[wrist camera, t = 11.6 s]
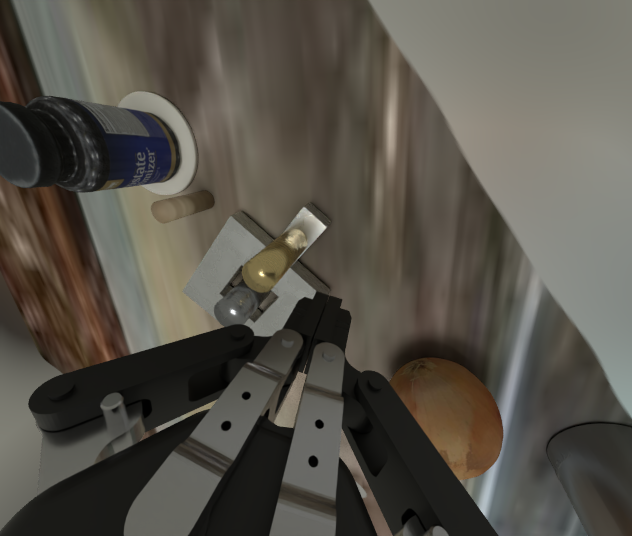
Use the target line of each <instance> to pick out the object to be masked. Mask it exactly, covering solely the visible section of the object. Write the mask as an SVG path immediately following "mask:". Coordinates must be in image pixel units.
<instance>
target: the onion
mask: <svg viewBox="0 0 632 536" xmlns="http://www.w3.org/2000/svg"><path fill="white" fill-rule="evenodd" d="M389 383H390V385H391V386H392V387H393V389H394V390H395V392H396V393H397V394H398V396H399V397H400V399H401V400H402V401H403V403H404V404H405V406H406V407H407V408H408V410H409V411H410V413H411V414H412V415H413V417H414V418H415V420H416V421H417V422H418V424H419V425H420V427H421V428H422V429H423V431H424V432H425V434H426V435H427V436H428V438H429V439H430V441H431V442H432V443H433V445H434V446H435V448H436V449H437V450H438V452H439V453H440V455H441V456H442V457H443V459H444V460H445V462H446V463H447V464H448V466H449V467H450V469H451V470H452V471H453V473H454V474H455V476H456V477H457V478H458V480H464V479H469V478H473V477H476V476H479V475H481V474H483V473H484V472H485V471H487V470H488V469H489V468H490V467H491V466H492V465H493V464H494V463H495V462H496V460H497V459H498V457H499V454H500V451H501V447H502V441H503V426H502V420H501V415H500V412H499V409H498V406H497V404H496V402H495V400H494V398H493V396H492V395H491V393H490V392H489V391H488V389H487V388H486V387H485V386H484V385H483V383H482V382H481V381H480V380H479V379H478V378H477V377H476V376H475V375H473V374H472V373H471V372H470V371H469V370H467V369H466V368H465V367H463V366H461V365H459V364H457V363H455V362H452V361H449V360H445V359H440V358H420V359H416V360H413V361H411V362H409V363H407V364H405V365H404V366H403V367H401V368H400V369H399V370H398V371H397V372H396V373H395V374H394V376H393V377H392V379H391V380H390V382H389Z"/></svg>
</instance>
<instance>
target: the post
mask: <svg viewBox="0 0 632 536" xmlns="http://www.w3.org/2000/svg"><path fill="white" fill-rule="evenodd" d="M270 292H271V290H270V291H268V292H264V293H261V292H257V291H254V290H252V289H251V288H250V287H249V286H248V285H247V284H246V283H245V281H244V279H243V280H242V281H241V282H240V283H239V284H238V285H236V286H235V287H234V288H233V289H232V290H231V291H230V292H229V293H227V294H226V295H225V296H224V297H223V298H222V299H221V300H220V301H219V302H217V303H216V305H215V306H214V314H215V317H216V319H217V320H218V321H219V322H220V323H221V324H222V325H223V326H225V327H227V326H230V325H234V324H242V325H244V324H245V323H246V321H247V320H248V319H249V318H250V316H251V315H252V314H253V313H254V312H255V310H256V309H257V308H258V307H259V306H260V304H261V303H262V302H263V301H264V300H265V298H266V297H267V296H268V295H269V293H270Z"/></svg>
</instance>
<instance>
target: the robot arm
mask: <svg viewBox="0 0 632 536" xmlns="http://www.w3.org/2000/svg"><path fill="white" fill-rule="evenodd" d="M328 297H329V295H327V294H324V293H321V292H318V291H316V293H315V295H314V297H313V299H310V298H307V297H303V298H302V299H300V300H298V302H297V304H296V305H295V307H294V309H293V311H292V312H291V314H290V316H289V318H288V319H287V321H286V323H285V325H284V326H283V328H282V329H281V330H278V331H276V332H275V333H274V334H273V336H254V332H253V330H252V329H251V328H250V327H248V326H246V325H242V324H234V325H230V326H227V327H223V328H220V329H217V330H213V331H210V332H206V333H203V334H199V335H196V336H193V337H189V338H186V339H182V340H179V341H175V342H172V343H169V344H165V345H162V346H158V347H155V348H151V349H148V350H145V351H141V352H138V353H134V354H131V355H127V356H124V357H121V358H117V359H114V360H110V361H107V362H103V363H100V364H97V365H93V366H90V367H86V368H83V369H79V370H76V371H73V372H69V373H66V374H62V375H59V376H57V377H54V378H52V379H50V380H48V381H47V382H45V383H44V384H42V385H41V386H40V387H38V388H37V389H36V390H35V391H34V393H33V394H32V395H31V397H30V399H29V403H28V405H29V408H30V410H31V412H32V414H33V416H34V418H35V420H36V426H37V428H38V430H39V432H40V433H41V435H42V447H41V458H40V469H39V480H38V491H37V497H35V498H34V499H33V500H31V501H30V502H29V503H28V504H26V505H25V506H24V507H23V508H22V509H21V510H20V511H19V512H17V513H16V514H15V515H14V517H13V518H12V519H11V520H10V521H9V522H8V523H7V524H6V525H5V526H4V527H3V528H2V530H1V531H0V536H377V533H376V531H375V528H374V526H373V524H372V521H371V519H370V516H369V514H368V511H367V509H366V507H365V504H364V502H363V499H362V497H361V494H360V492H359V490H358V487H357V485H356V482H355V480H354V478H353V476H352V474H351V472H350V470H349V469H348V467H347V466H346V464H345V463H344V462H343V461H342V459H341V458H340V457H339V452H340V440H341V428H342V429H343V431H344V433H345V436H346V438H347V440H348V442H349V444H350V446H351V448H352V450H353V452H354V455H355V457H356V459H357V461H358V463H359V465H360V467H361V469H362V471H363V473H364V476H365V478H366V480H367V482H368V484H369V486H370V488H371V490H372V492H373V495H374V497H375V499H376V501H377V503H378V505H379V507H380V509H381V511H382V513H383V516H384V518H385V520H386V522H387V524H388V526H389V528H390V530H391V532H392V535H393V536H498V534H497V533H496V532H495V530H494V529H493V527H492V526H491V525H490V523H489V522H488V520H487V519H486V518H485V516H484V515H483V513H482V512H481V511H480V509H479V508H478V506H477V505H476V504H475V502H474V501H473V499H472V498H471V497H470V495H469V494H468V492H467V491H466V490H465V488H464V487H463V485H462V484H461V483H460V481H459V480H458V478H457V477H456V476H455V474H454V473H453V471H452V470H451V469H450V467H449V466H448V464H447V463H446V462H445V460H444V459H443V457H442V456H441V455H440V453H439V452H438V450H437V449H436V448H435V446H434V445H433V443H432V442H431V441H430V439H429V438H428V436H427V435H426V434H425V432H424V431H423V429H422V428H421V427H420V425H419V424H418V422H417V421H416V420H415V418H414V417H413V415H412V414H411V413H410V411H409V410H408V408H407V407H406V406H405V404H404V403H403V401H402V400H401V399H400V397H399V396H398V394H397V393H396V392H395V390H394V389H393V387H392V386H391V385H390V383H389V382H388V381H387V379H386V378H385V377H384V376H382V375H381V374H379V373H377V372H375V371H364V372H362V373H361V372H359V371H358V370H356V369H355V368H353V367H352V366H351V365H350V364H349V363H348V361H347V360H346V357H345V348H346V343H347V338H348V333H349V328H350V324H351V319H352V318H351V315H350V312H349V311H347V310H344V309H341V308H340V306H341V303H342V299H340V298H337V297H333V296H330V297H329V299H328ZM327 301H328V302H327ZM307 360H308V361H307ZM306 362H307V364H306ZM305 365H306V368H305ZM304 368H305V371H304V374H307V376H306V380H305V383H304V387H303V390H302V394H301V398H300V402H299V406H298V410H297V414H296V418H295V422H294V426H293V428H288V427H280V426H277V425H275V424H274V421H275V419H276V417H277V415H278V413H279V411H280V409H281V407H282V405H283V403H284V401H285V399H286V397H287V395H288V393H289V391H290V389H291V387H292V384H293V381H294V380H295V378H296V375H297V373H298V371H299V372H302V373H303V370H304ZM217 399H218V400H217ZM215 400H217V401H216V402H215V404H214V405H213V406H212V408H211V409H208V410H204V411H201V412H198V413H196V414H194V415H192V416H190V417H188V418H186V419H184V420H182V421H180V422H178V423H176V424H174V425H172V426H170V427H168V428H166V429H164V430H162V431H160V432H158V433H156V434H154V435H152V436H150V437H148V438H146V439H144V440H142V441H140V440H141V438H142V437H143V435H144V433H145V432H147V431H149V430H151V429H153V428H156V427H158V426H160V425H162V424H164V423H166V422H169V421H171V420H173V419H175V418H177V417H180V416H182V415H184V414H186V413H188V412H191V411H193V410H195V409H197V408H199V407H201V406H204V405H206V404H208V403H210V402H212V401H215ZM139 441H140V442H139ZM547 455H548V458H549V460H550V462H551V464H552V466H553V468H554V470H555V472H556V475H557V477H558V479H559V480H560V482H561V484H562V485H563V487H564V489H565V491H566V493H567V495H568V497H569V499H570V501H571V503H572V505H573V507H574V509H575V511H576V513H577V515H578V517H579V519H580V521H581V523H582V525H583V527H584V529H585V531H586V533H587V535H588V536H632V428H631V427H627V426H623V425H616V424H587V425H582V426H577V427H573V428H570V429H567V430H565V431H563V432H561V433H559V434H558V435H556V436H555V437H554V438H553V439H552V440H551V441H550V443H549V444H548V448H547Z"/></svg>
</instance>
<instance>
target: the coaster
mask: <svg viewBox="0 0 632 536" xmlns="http://www.w3.org/2000/svg"><path fill="white" fill-rule="evenodd" d="M118 107H120V108H127V109H132V110H138V111H144V112H149V113H152V114H154V115H156V116H158V117H159V118H161V119H162V120H163V121H164V122H165V123H166V124H167V125H168V126H169V127H170V129H171V130H172V131H173V133H174V135H175V137H176V139H177V141H178V145H179V153H180V165H179V168H178V170H177V173H176V174H175V175H174V176H173V177H172V178H171V179H170V180H168V181H166V182H163V183H153V184H146V185H142V186H143V187H144V188H146V189H147V190H149V191H151V192H153V193H157V194H161V195H171V194H176V193H179V192H181V191H183V190H185V189H186V188H187V187H188V186H189V185H190V184H191V183H192V181H193V179H194V177H195V175H196V171H197V166H198V151H197V145H196V141H195V137H194V134H193V132H192V129H191V127H190V125H189V123H188V122H187V120H186V119H185V117H184V115H183V114H182V113H181V112H180V110H179V109H178V108H177V107H176V106H175V105H174V104H172V103H171V102H170V101H169V100H167V99H165V98H164V97H162V96H160V95H157V94H153V93H149V92H143V91H139V92H133V93H130V94H129V95H127V96H126V97H124V98H123V99H122V100H121V102H120V103H119V105H118Z"/></svg>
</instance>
